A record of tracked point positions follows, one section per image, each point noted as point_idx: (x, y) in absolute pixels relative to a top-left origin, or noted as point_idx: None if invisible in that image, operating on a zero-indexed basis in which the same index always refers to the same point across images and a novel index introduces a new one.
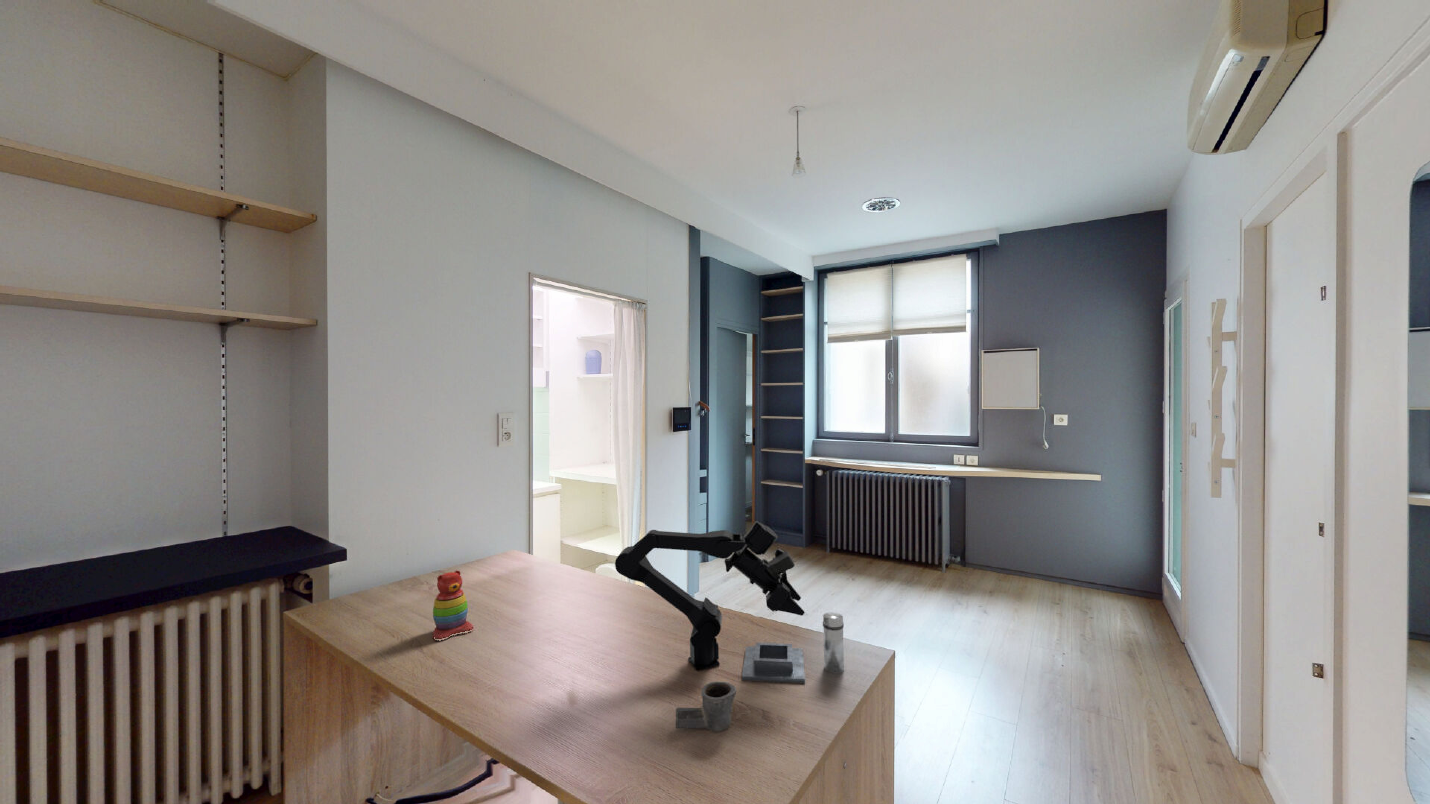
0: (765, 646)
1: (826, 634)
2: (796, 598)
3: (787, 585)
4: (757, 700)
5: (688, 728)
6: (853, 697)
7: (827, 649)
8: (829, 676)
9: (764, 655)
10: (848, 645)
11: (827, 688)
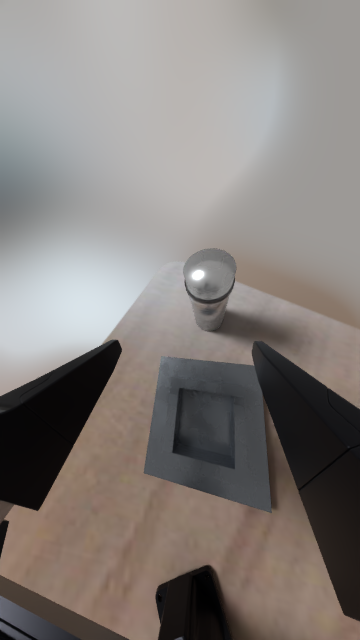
0: (173, 437)
1: (222, 304)
2: (115, 357)
3: (42, 405)
4: None
5: None
6: (285, 303)
7: (221, 315)
8: (232, 327)
9: (181, 434)
10: (150, 294)
11: (267, 334)
